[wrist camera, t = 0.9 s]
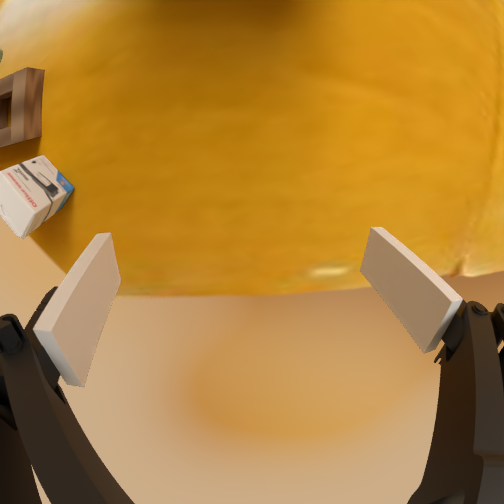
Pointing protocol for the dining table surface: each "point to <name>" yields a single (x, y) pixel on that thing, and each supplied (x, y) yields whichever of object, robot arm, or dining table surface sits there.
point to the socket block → (21, 105)
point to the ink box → (31, 194)
